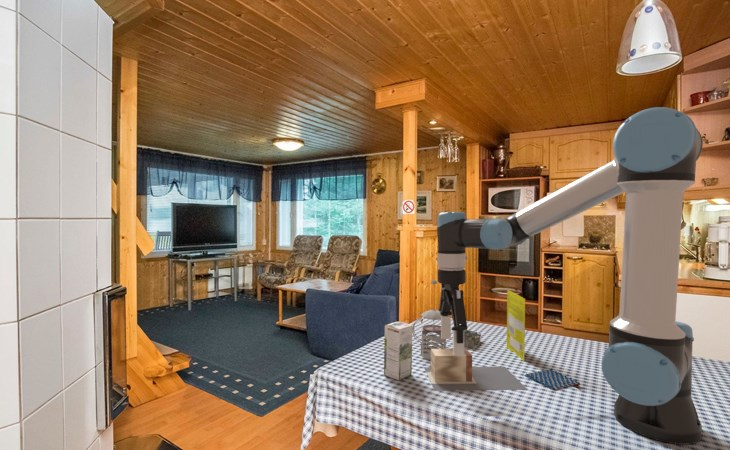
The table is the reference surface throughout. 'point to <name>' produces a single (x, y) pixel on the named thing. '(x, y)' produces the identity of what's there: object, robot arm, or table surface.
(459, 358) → the maple block
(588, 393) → the table surface
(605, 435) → the table surface
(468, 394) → the table surface
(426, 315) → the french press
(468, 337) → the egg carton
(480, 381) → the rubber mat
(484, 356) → the table surface
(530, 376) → the woven mat
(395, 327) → the syrup box
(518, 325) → the food package
